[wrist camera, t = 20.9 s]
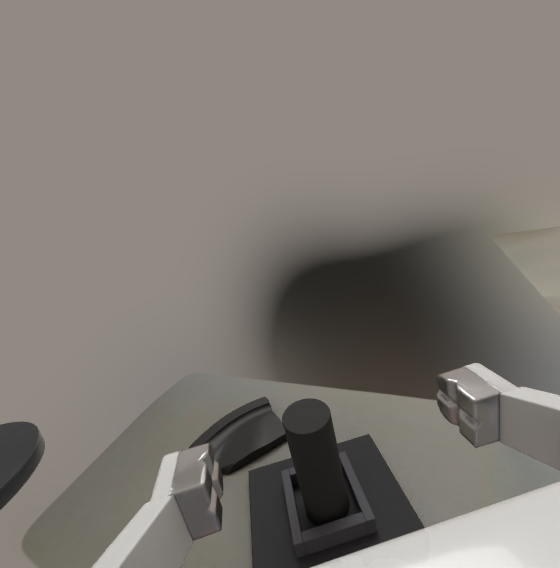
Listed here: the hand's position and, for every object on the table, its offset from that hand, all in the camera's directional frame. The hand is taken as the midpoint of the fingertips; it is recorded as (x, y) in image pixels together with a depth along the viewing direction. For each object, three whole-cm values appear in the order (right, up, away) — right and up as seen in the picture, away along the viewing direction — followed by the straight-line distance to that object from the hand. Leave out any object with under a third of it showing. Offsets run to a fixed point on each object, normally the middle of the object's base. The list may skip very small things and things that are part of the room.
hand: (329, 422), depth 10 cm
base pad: (+3, -16, +17) cm, 24 cm away
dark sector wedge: (-7, -16, +28) cm, 33 cm away
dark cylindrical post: (+3, -15, +16) cm, 23 cm away
